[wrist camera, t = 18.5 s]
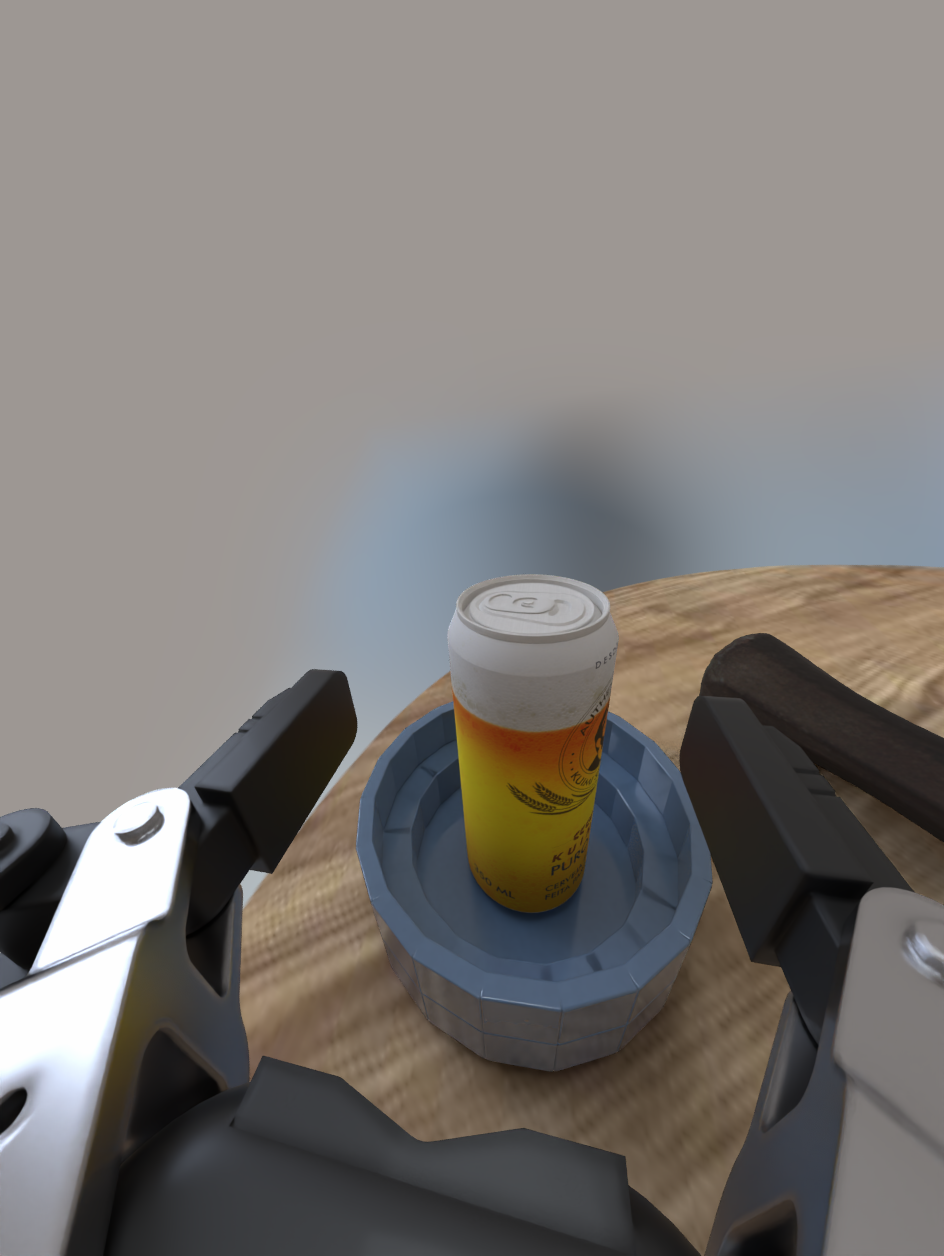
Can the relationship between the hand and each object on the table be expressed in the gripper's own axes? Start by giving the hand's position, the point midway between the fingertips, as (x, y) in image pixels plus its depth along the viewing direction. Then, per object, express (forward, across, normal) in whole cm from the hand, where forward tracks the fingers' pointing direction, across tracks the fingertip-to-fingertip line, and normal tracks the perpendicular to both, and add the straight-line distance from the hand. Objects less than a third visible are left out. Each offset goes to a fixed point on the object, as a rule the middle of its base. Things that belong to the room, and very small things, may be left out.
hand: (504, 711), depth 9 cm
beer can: (+5, 0, +15) cm, 16 cm away
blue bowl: (+6, 0, +15) cm, 16 cm away
